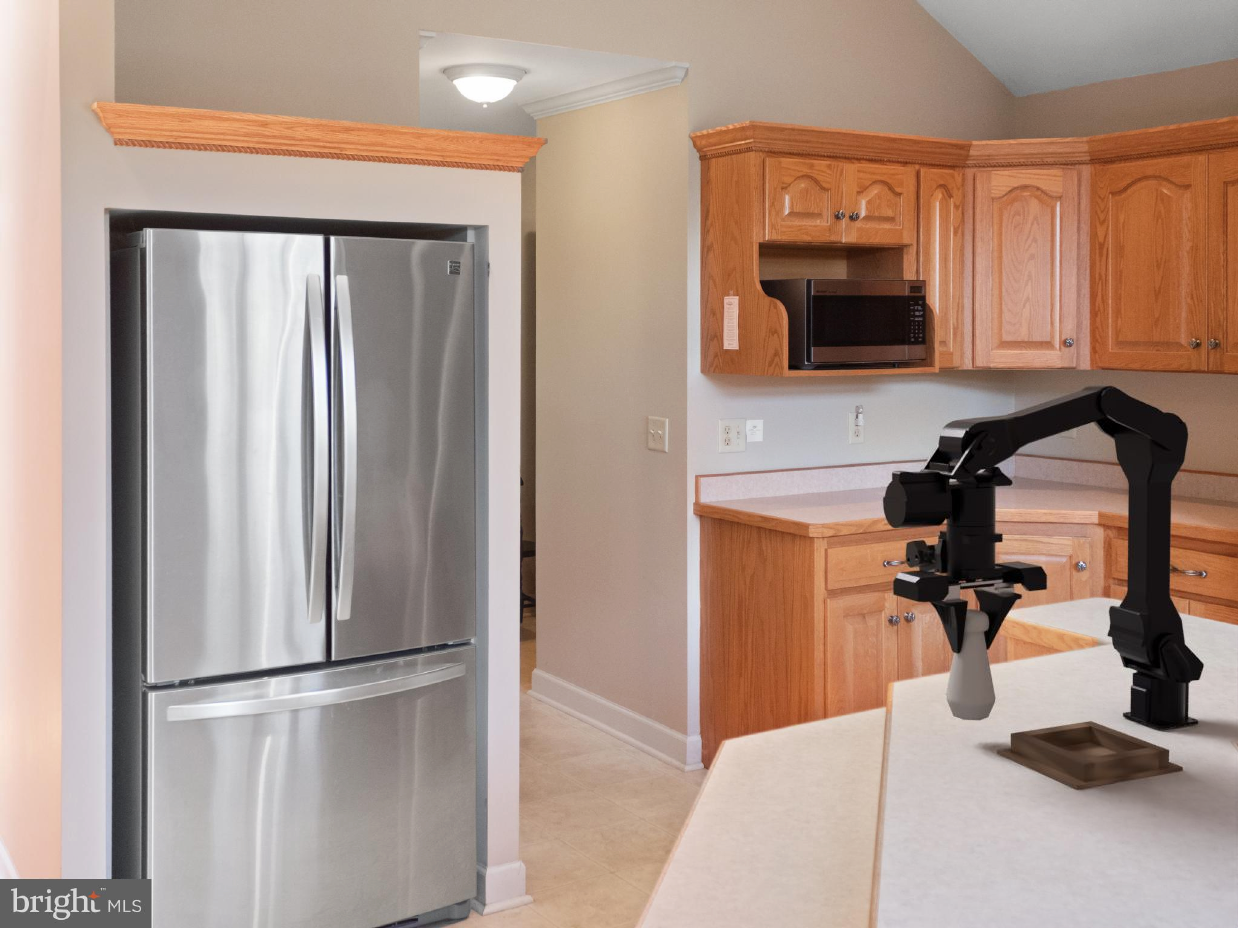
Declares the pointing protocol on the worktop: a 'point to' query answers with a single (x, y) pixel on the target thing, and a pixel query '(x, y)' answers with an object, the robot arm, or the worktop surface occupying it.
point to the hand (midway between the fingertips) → (970, 650)
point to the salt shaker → (971, 672)
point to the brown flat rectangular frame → (1088, 754)
